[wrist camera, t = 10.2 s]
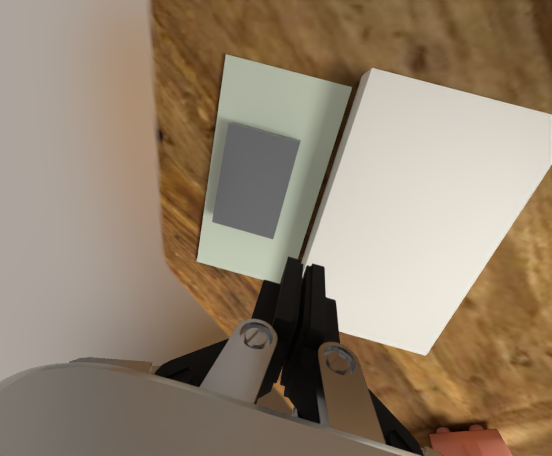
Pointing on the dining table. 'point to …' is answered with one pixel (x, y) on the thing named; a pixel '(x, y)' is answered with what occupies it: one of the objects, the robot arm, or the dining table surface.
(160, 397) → the robot arm
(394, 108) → the plate
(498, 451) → the pink cube teapot
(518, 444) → the dining table surface
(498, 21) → the dining table surface
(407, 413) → the dining table surface
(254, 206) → the tile
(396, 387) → the dining table surface
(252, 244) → the mat
